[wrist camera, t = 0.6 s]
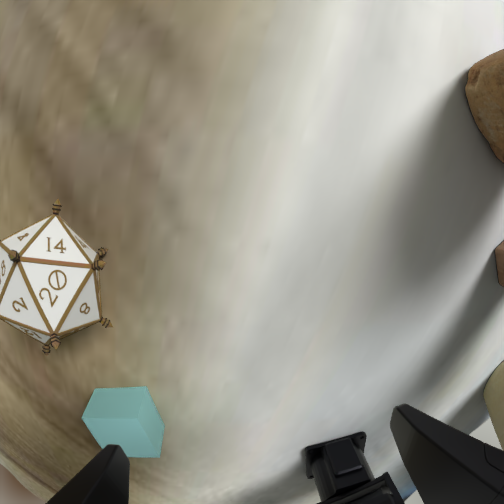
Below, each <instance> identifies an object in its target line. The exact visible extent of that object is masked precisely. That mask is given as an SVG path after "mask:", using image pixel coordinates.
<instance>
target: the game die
mask: <svg viewBox="0 0 504 504" xmlns="http://www.w3.org/2000/svg"><path fill="white" fill-rule="evenodd" d="M53 205H54V206H53V208H52V209H53V214H52V215H50V216H48V217H46V218H44V219H42V220H40V221H38V222H36V223H34V224H32V225H30V226H28V227H26V228H24V229H22V230H20V231H18V232H16V233H14V234H12V235H10V236H9V237H7V238H5V239H3V240H0V319H1V320H3V321H4V322H6V323H8V324H9V325H11V326H13V327H14V328H16V329H18V330H19V331H21V332H23V333H25V334H26V335H28V336H30V337H32V338H33V339H35V340H37V341H39V342H41V343H43V344H44V346H43V350H42V351H43V352H44V353H45V354H46V356H47V355H48V354H49V353H50V347H49V344H51V345H52V347H54V348H55V349H56V350H57V348H58V347H59V345H60V343H61V342H59V340H60V339H62V338H64V337H67V336H69V335H71V334H73V333H76V332H78V331H80V330H82V329H84V328H87V327H89V326H91V325H93V324H96V323H98V322H101V323H102V326H103V325H104V326H105V328H106V327H113V326H112V324H111V322H110V320H107V318H106V319H105V318H103V317H102V310H101V296H100V275H99V270H100V269H101V270H102V269H103V267H104V265H105V263H106V262H104V261H102V260H99V256H101V257H102V256H103V255H105V254H106V252H107V250H108V249H105V248H102V247H101V249H98V251H97V252H96V251H95V250H94V249H93V248H92V247H91V246H90V245H89V244H88V243H87V242H86V241H84V240H83V239H82V238H81V237H80V236H79V235H78V234H77V233H76V232H75V231H74V230H73V229H72V228H71V227H70V226H69V225H68V224H67V223H66V222H65V221H64V220H63V219H62V218H61V217H60V216H59V215H58V213H59V211H61V210H60V207H62V206H61V204H60V202H59V199H58V200H57V201H56V202H55V203H54V204H53Z"/></svg>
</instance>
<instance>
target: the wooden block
mask: <svg viewBox="0 0 504 504" xmlns="http://www.w3.org/2000/svg"><path fill="white" fill-rule="evenodd" d="M495 256H496V263H497V271H498V280H499V284H500V285H501V286H503V287H504V241H503V242H502V243H501V244H500V245H499V246H498V247H497V248H496V249H495Z"/></svg>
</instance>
